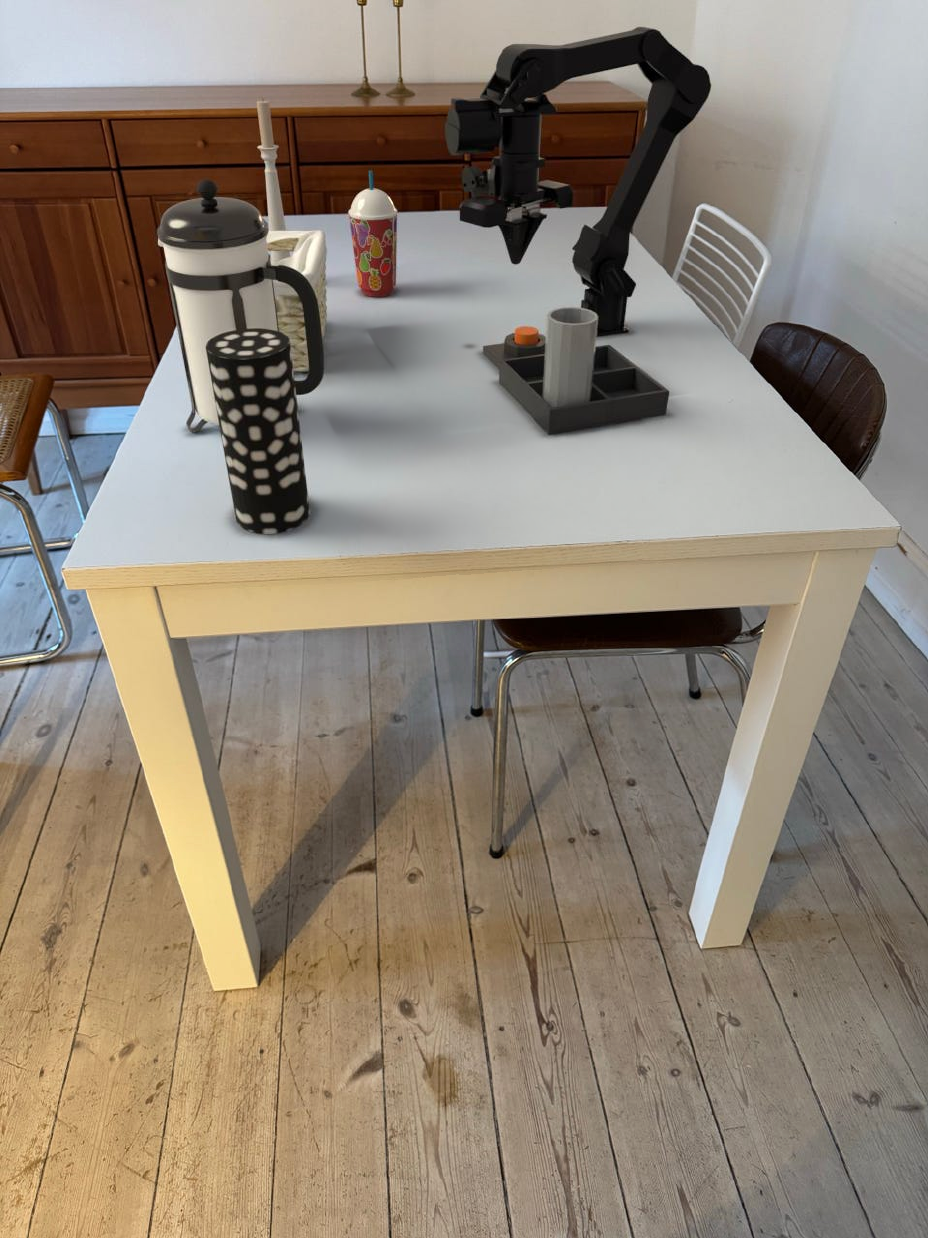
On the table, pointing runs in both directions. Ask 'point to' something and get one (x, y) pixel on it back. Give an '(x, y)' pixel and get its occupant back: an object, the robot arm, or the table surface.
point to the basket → (288, 304)
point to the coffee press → (226, 286)
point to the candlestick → (271, 176)
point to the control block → (513, 349)
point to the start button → (526, 335)
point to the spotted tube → (260, 428)
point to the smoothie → (374, 240)
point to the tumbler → (569, 356)
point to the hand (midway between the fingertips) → (515, 263)
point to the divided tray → (613, 395)
